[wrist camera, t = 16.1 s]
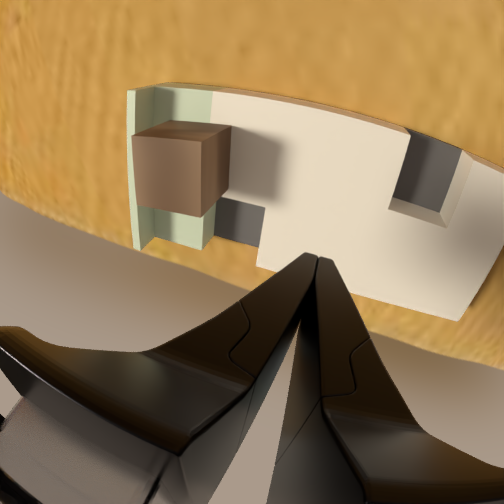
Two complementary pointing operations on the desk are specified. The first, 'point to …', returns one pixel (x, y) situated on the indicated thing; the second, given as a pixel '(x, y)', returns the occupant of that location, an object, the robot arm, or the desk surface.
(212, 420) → the robot arm
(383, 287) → the board
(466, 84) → the desk surface
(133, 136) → the walnut block
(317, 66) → the desk surface
